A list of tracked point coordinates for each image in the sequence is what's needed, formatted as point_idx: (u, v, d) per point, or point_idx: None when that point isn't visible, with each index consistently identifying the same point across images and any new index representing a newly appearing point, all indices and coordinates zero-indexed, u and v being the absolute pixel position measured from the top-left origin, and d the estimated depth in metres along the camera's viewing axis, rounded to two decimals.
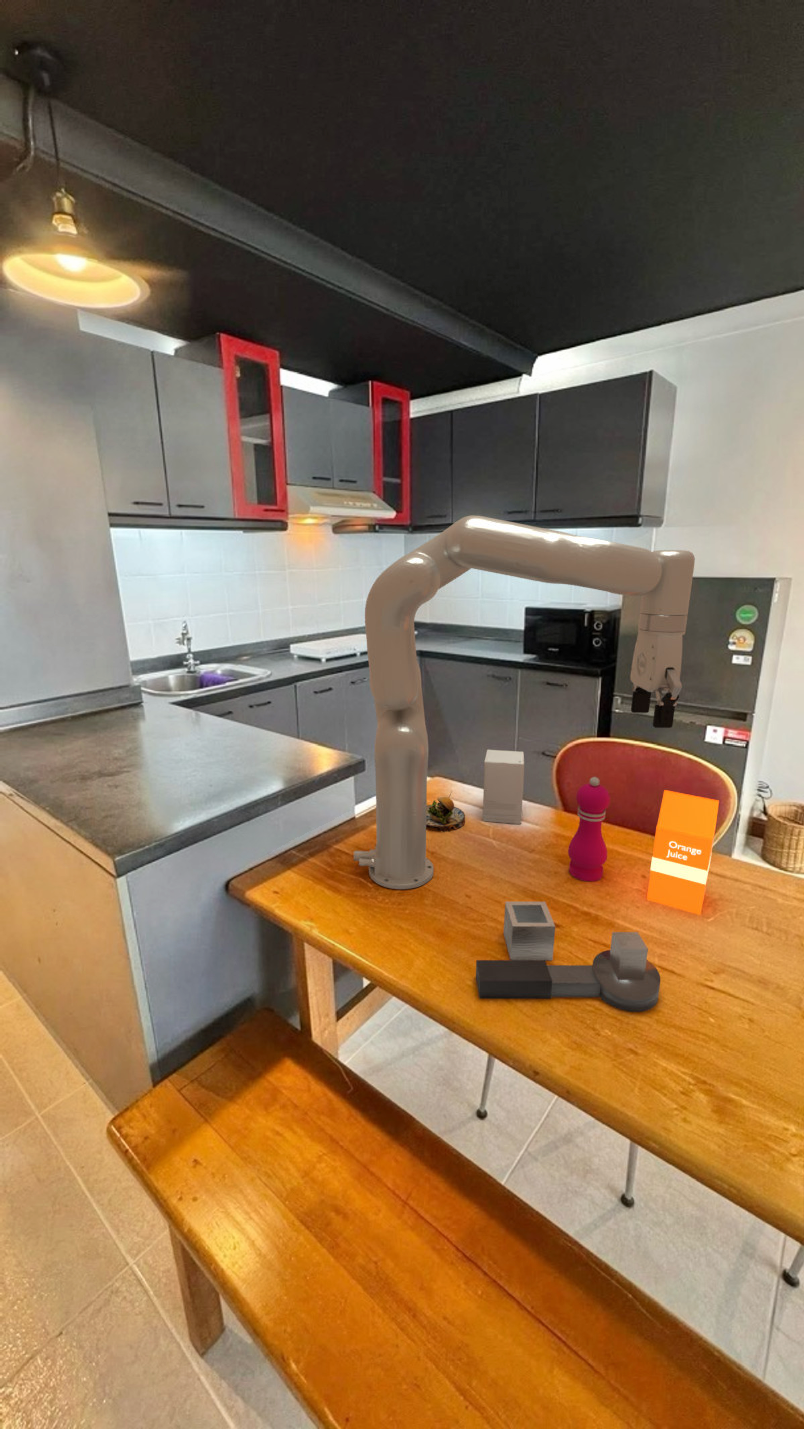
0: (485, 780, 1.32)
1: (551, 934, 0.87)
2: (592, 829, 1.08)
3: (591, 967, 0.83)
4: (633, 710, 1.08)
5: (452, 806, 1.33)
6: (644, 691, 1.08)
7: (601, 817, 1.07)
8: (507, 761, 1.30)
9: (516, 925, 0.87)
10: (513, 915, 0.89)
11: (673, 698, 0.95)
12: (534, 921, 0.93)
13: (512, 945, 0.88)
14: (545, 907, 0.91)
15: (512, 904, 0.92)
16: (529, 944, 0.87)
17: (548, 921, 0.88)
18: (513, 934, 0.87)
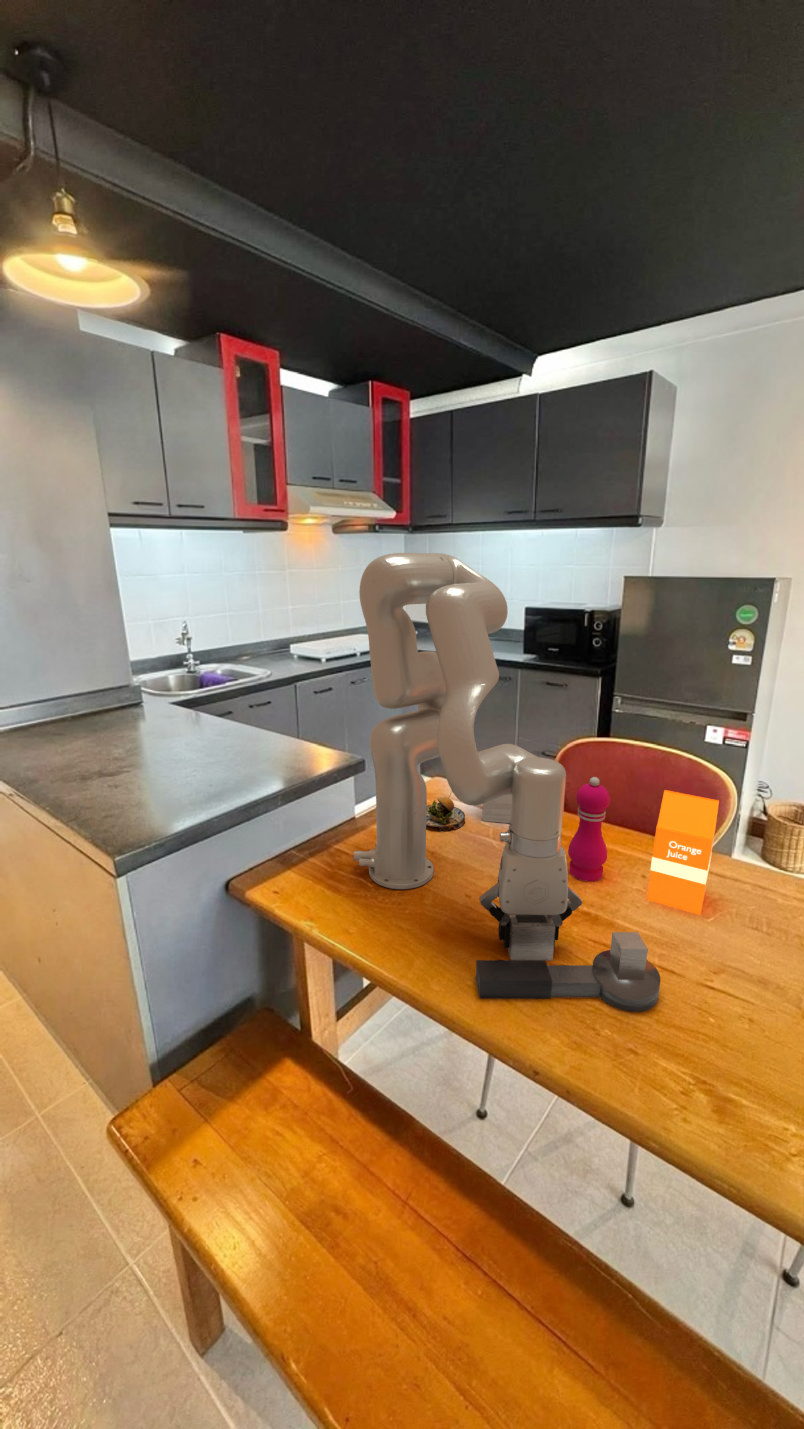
0: None
1: (551, 934, 0.87)
2: (592, 829, 1.08)
3: (591, 967, 0.83)
4: (508, 946, 0.90)
5: (452, 806, 1.33)
6: None
7: (601, 817, 1.07)
8: None
9: (516, 925, 0.87)
10: (513, 915, 0.89)
11: None
12: (534, 921, 0.93)
13: (512, 945, 0.88)
14: None
15: None
16: (529, 944, 0.87)
17: (548, 921, 0.88)
18: (513, 934, 0.87)
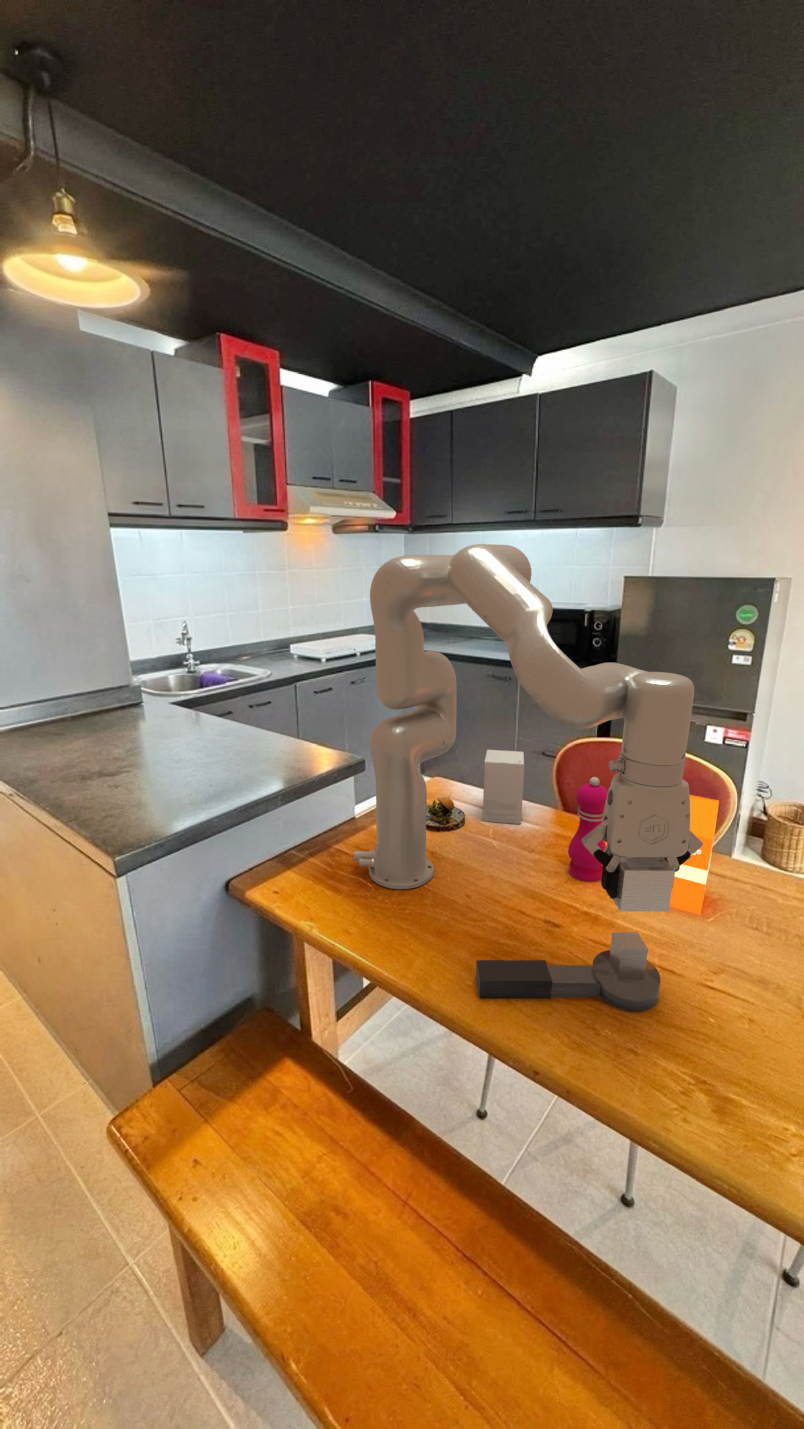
0: (485, 780, 1.32)
1: (669, 880, 0.74)
2: (592, 829, 1.08)
3: (591, 967, 0.83)
4: (615, 895, 0.77)
5: (452, 806, 1.33)
6: None
7: (601, 817, 1.07)
8: (507, 761, 1.30)
9: (628, 869, 0.74)
10: (621, 859, 0.77)
11: None
12: None
13: (623, 893, 0.75)
14: None
15: None
16: (643, 891, 0.75)
17: (664, 865, 0.75)
18: (625, 880, 0.74)
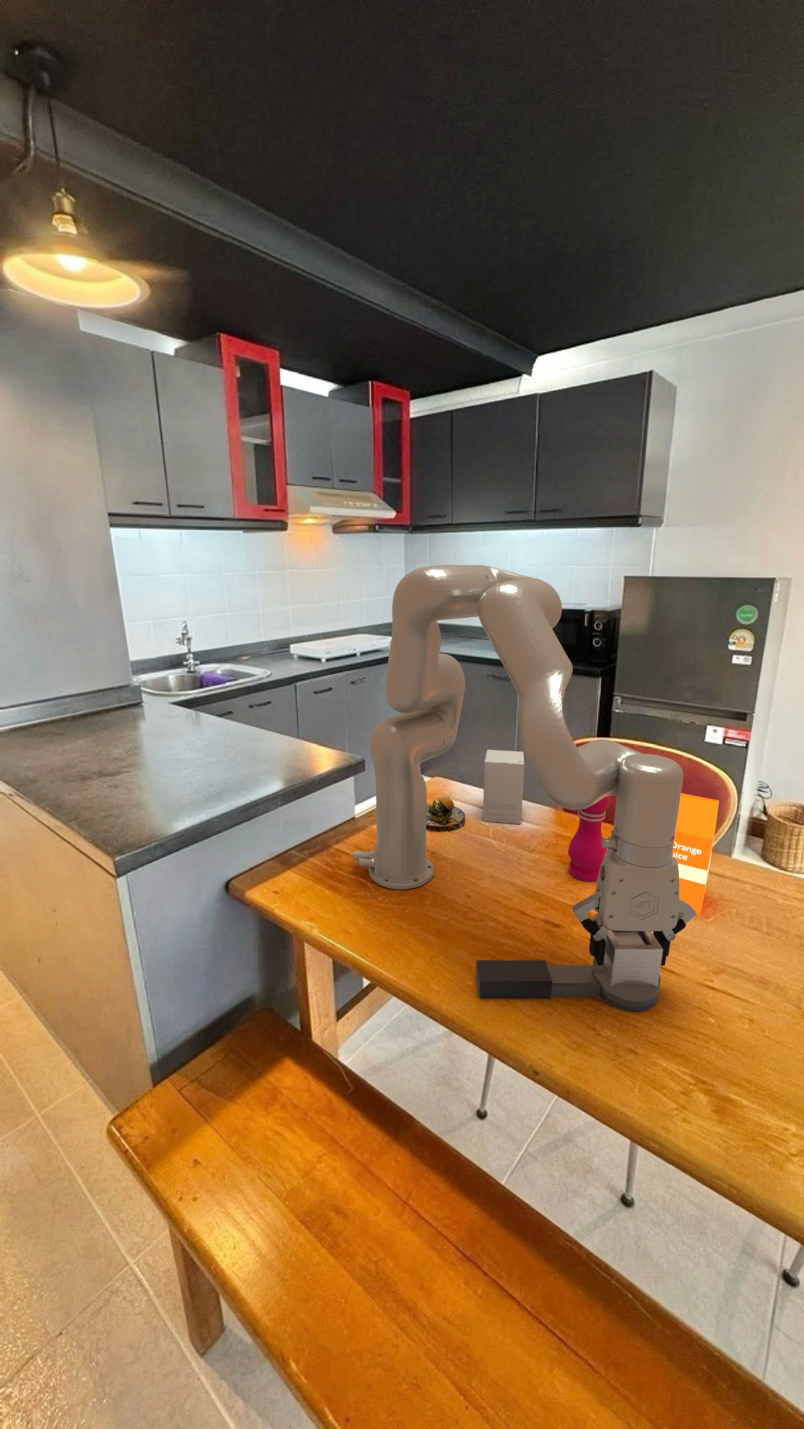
0: (485, 780, 1.32)
1: (658, 958, 0.78)
2: (592, 829, 1.08)
3: (591, 967, 0.83)
4: None
5: (452, 806, 1.33)
6: None
7: (601, 817, 1.07)
8: (507, 761, 1.30)
9: (619, 948, 0.77)
10: (612, 936, 0.80)
11: None
12: None
13: (613, 970, 0.78)
14: None
15: None
16: (632, 968, 0.78)
17: (653, 943, 0.78)
18: (615, 958, 0.78)
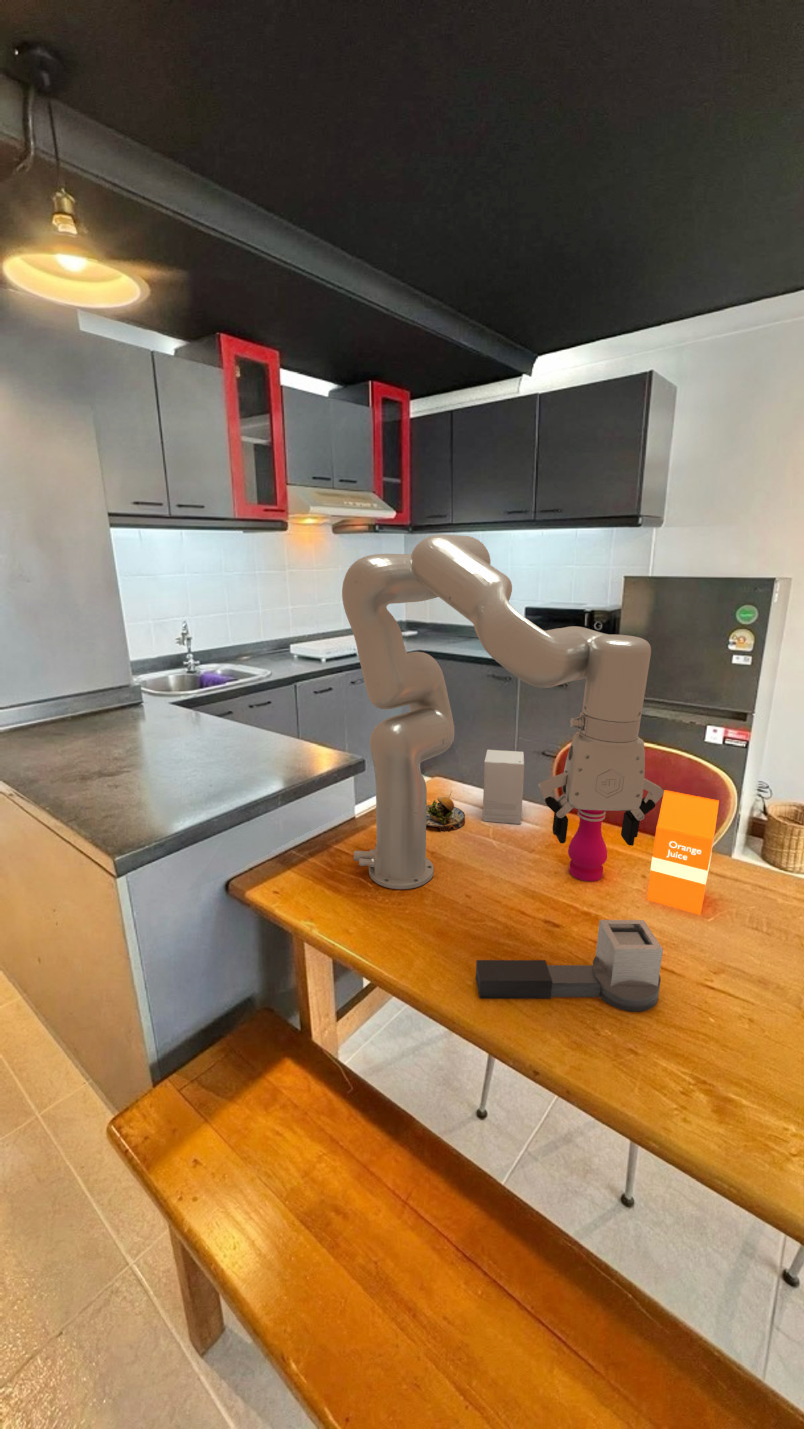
0: (485, 780, 1.32)
1: (658, 958, 0.78)
2: (592, 829, 1.08)
3: (591, 967, 0.83)
4: (564, 840, 0.82)
5: (452, 806, 1.33)
6: None
7: (601, 817, 1.07)
8: (507, 761, 1.30)
9: (619, 948, 0.77)
10: (612, 936, 0.80)
11: None
12: None
13: (613, 970, 0.78)
14: (646, 926, 0.82)
15: (608, 923, 0.83)
16: (632, 968, 0.78)
17: (653, 943, 0.78)
18: (615, 958, 0.78)
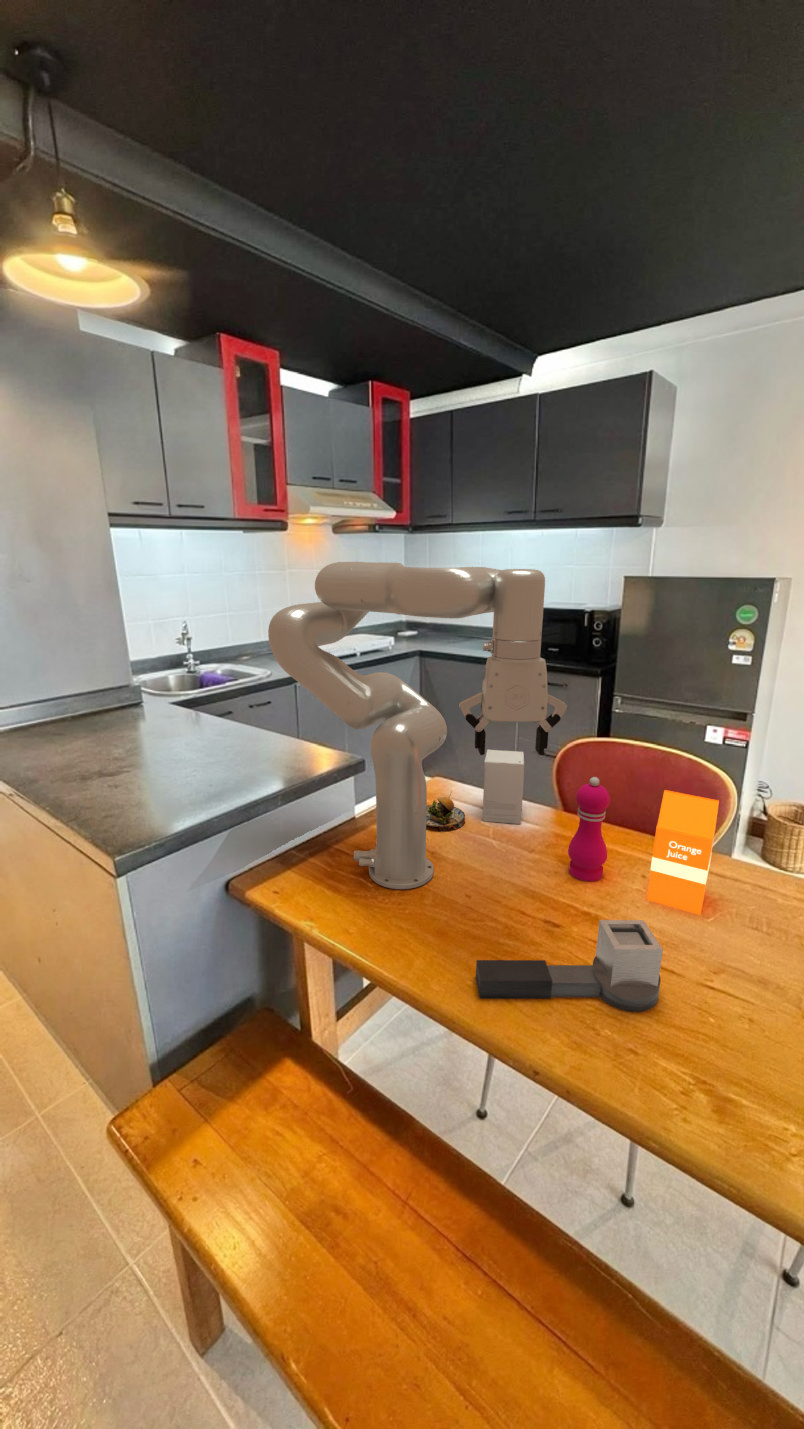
0: (485, 780, 1.32)
1: (658, 958, 0.78)
2: (592, 829, 1.08)
3: (591, 967, 0.83)
4: (484, 752, 0.94)
5: (452, 806, 1.33)
6: None
7: (601, 817, 1.07)
8: (507, 761, 1.30)
9: (619, 948, 0.77)
10: (612, 936, 0.80)
11: None
12: None
13: (613, 970, 0.78)
14: (646, 926, 0.82)
15: (608, 923, 0.83)
16: (632, 968, 0.78)
17: (653, 943, 0.78)
18: (615, 958, 0.78)
